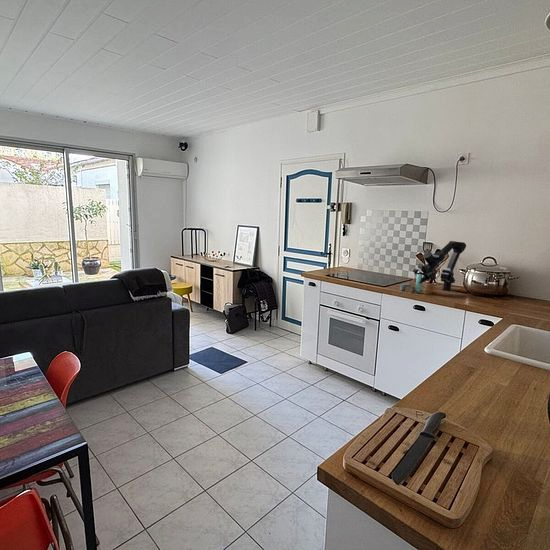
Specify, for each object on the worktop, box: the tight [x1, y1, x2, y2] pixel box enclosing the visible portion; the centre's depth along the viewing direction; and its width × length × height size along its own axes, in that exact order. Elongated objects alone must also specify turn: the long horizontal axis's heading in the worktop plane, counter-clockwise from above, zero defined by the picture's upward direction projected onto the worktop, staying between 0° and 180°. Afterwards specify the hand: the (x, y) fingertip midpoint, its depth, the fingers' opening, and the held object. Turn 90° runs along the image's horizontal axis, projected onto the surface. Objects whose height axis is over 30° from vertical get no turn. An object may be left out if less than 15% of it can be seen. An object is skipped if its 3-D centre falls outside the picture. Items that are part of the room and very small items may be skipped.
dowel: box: [414, 274, 423, 293], centre depth 262 cm, size 4×4×12 cm
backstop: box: [399, 283, 412, 291], centre depth 272 cm, size 2×10×4 cm, turn 122°
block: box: [404, 285, 416, 294], centre depth 267 cm, size 6×9×3 cm, turn 122°
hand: (417, 282), depth 261 cm, fingers closed on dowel, 4 cm apart
